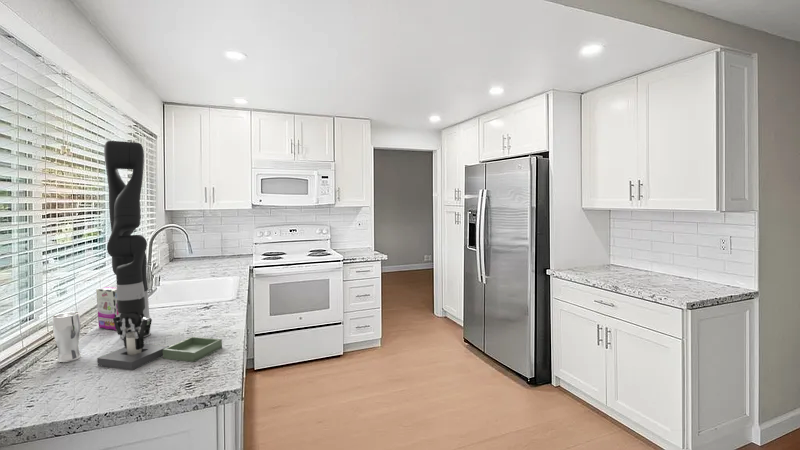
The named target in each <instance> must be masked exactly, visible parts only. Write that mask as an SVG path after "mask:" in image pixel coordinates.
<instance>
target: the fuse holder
mask: <svg viewBox="0 0 800 450" xmlns="http://www.w3.org/2000/svg"><path fill="white" fill-rule="evenodd" d="M169 346H170V345H164V344H155V343H154V344H153V343H145V342H144V347H143V348H142V352H141V353H139V354H136V355H134V356H131V355H127V348H125V346H124V347H122V348H119V349H116V350H113V351H112V352H109V353H107V354H104V355H102V356H100V357H97V359H96V360H97V366H98V367H105V368H111V369H120V370H128V371H133V370H135V369H138V368H141V367H142V366H145V365H147V364H148V363H151V362H153V361H155V360H157V359H159V358H163V349H165V348H167V347H169Z"/></svg>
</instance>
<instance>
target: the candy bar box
mask: <svg viewBox="0 0 800 450" xmlns="http://www.w3.org/2000/svg"><path fill="white" fill-rule="evenodd" d="M116 289H117V287H110V286H106V287H100V288H96V289H95V291H96V302H97V317H98V318H97V321H98V328H99V329H102V330H104V329H105V330H111V331H116V332H117V330H116V327H115V324H114V321H113V318H115V317H118V316H119V315H118V314H119V313H118V309H117V294H116Z"/></svg>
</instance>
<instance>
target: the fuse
mask: <svg viewBox="0 0 800 450" xmlns="http://www.w3.org/2000/svg"><path fill="white" fill-rule="evenodd" d="M138 333H139V334H140V331H138ZM135 339H136V338H135V334H134V332H132V331H130V332H127V333H126V343H127V355H131V356H134V355H136V354H139V353H141V352H142V349H139V350H136V345H135Z"/></svg>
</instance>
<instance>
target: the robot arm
mask: <svg viewBox="0 0 800 450" xmlns="http://www.w3.org/2000/svg"><path fill="white" fill-rule="evenodd" d="M103 149H104V150H103V157H104V164H105V170H106V177H107V185H108V186H107V187H108V208H109V209H108V211H109V221H110V222H109V224H110V230H111V234H110V236H109V238H108V241H107V245H106V251H107V253H108V255H109V256H110V257H111V267H112V271H113V273H114V275H116V276H115V278H116V288H117V289H116V294H117V309H118V313H119V314H118V315H119V316H118V317H115V318H113V321H114V324H115V327H116V330H117V331H116V330H115V331H116V333H117V335H118V336H119V338H121V339H122V340H123V345H124V347H125V348H127V343H126V333H127V332H130V331H132V332H134V334H135V338H136V339H135V345H136V350H139V349H142V348H143V347H144V343H145V340H144V338H145V337H148V336H150V335H151V326H152V321H153V319H152V317H150V304H149V303H150V302H149V290H148V277H147V276H148V275H147V273H148V268H147V266H148V265H147V264H148V263H147V261H148V260H147V253H146V251H147V246H148V242H147V239H146V238H145V237H144V236H143V235H141V234H133V233H134V231H135V230H136V229H137V228H139V227H140V224H141V221H142V220H141V218H142V217H141V214H142V212H141V192H142V186H143V179H144V177H143V176H144V170H145V169H144V167H145V151H144V147H143V145H142V144H141V143H140V142H133V141H121V140H107V141H106V142H105V144H104V148H103ZM119 170H132V174H131V176H130V179H129V181H128V182H127V184H125V182H124V180H123V178H122V177H121V175H120V172H119ZM138 331H140V334H139V333H138Z"/></svg>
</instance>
